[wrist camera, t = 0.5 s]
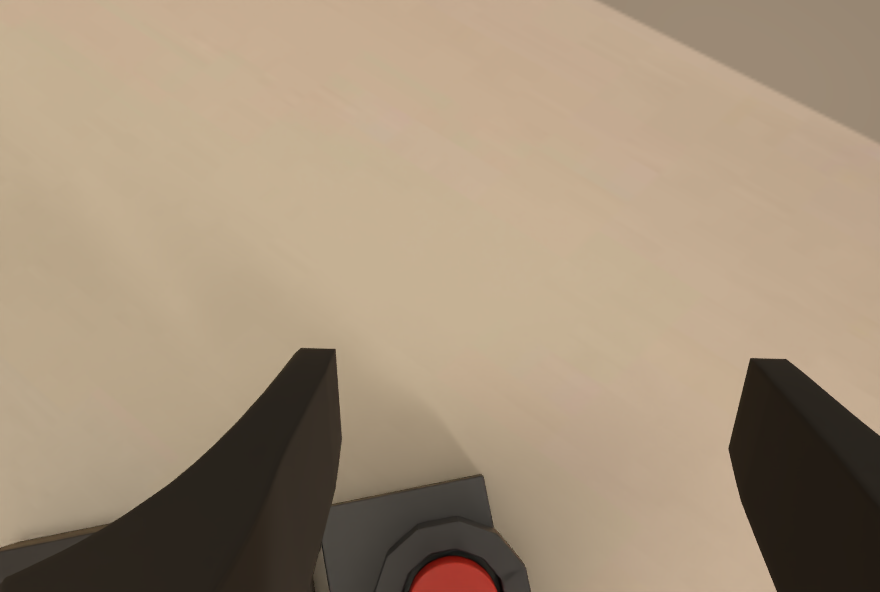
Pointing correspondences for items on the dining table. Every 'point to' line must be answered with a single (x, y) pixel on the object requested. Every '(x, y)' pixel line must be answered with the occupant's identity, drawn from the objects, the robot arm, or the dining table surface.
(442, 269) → the dining table surface
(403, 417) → the dining table surface
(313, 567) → the robot arm
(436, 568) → the power button
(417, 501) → the button base
